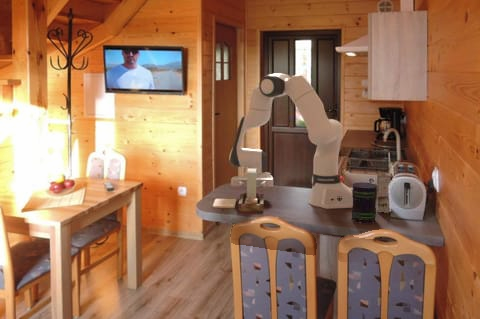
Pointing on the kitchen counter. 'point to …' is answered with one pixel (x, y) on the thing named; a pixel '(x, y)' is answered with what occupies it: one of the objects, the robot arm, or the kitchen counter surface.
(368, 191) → the storage jar
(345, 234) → the kitchen counter surface
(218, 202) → the pad
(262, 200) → the offcut rack
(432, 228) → the kitchen counter surface
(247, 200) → the offcut stack
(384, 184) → the coffee box
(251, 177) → the tall board
